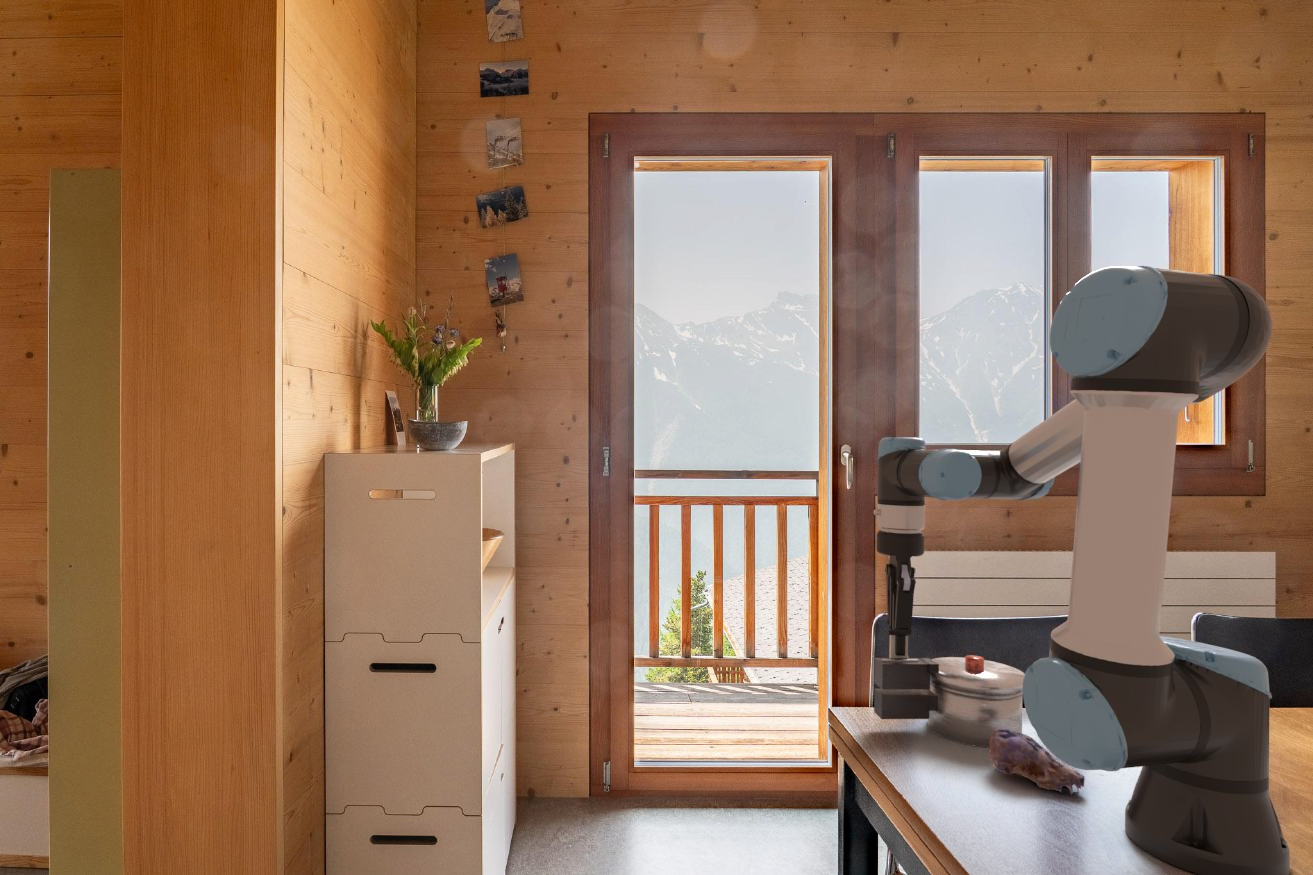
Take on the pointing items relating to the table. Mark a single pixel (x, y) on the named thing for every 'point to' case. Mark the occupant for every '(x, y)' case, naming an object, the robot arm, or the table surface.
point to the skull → (1030, 761)
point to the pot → (953, 711)
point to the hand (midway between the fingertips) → (898, 673)
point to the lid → (948, 674)
